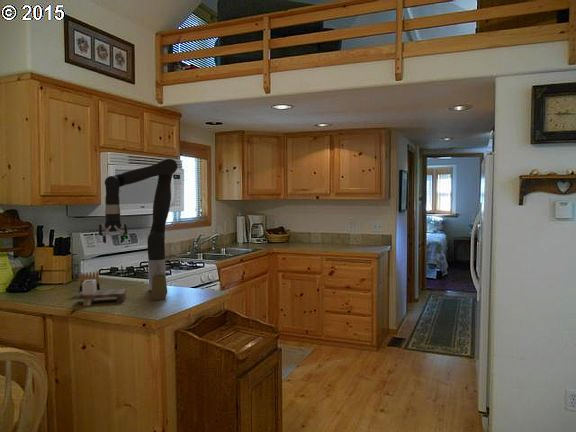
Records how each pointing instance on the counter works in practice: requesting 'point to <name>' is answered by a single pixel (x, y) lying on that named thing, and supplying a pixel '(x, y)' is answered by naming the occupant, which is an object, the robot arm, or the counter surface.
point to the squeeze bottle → (159, 284)
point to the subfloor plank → (103, 295)
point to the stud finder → (89, 287)
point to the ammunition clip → (88, 279)
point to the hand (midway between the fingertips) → (113, 242)
